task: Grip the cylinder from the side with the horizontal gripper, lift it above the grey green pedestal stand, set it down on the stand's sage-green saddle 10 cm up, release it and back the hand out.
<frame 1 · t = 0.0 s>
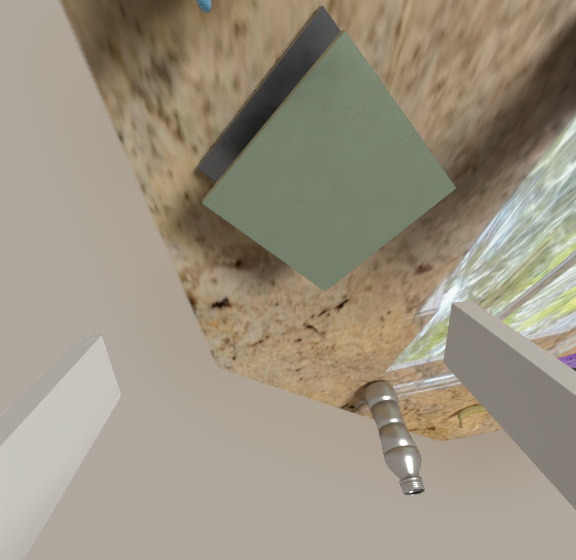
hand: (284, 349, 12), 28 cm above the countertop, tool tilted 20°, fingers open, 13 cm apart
sponges: (546, 365, 71), on the countertop
banana: (467, 406, 79), on the countertop
grey green pedestal stand: (314, 157, 35), on the countertop
plastic bottle: (376, 384, 68), on the countertop
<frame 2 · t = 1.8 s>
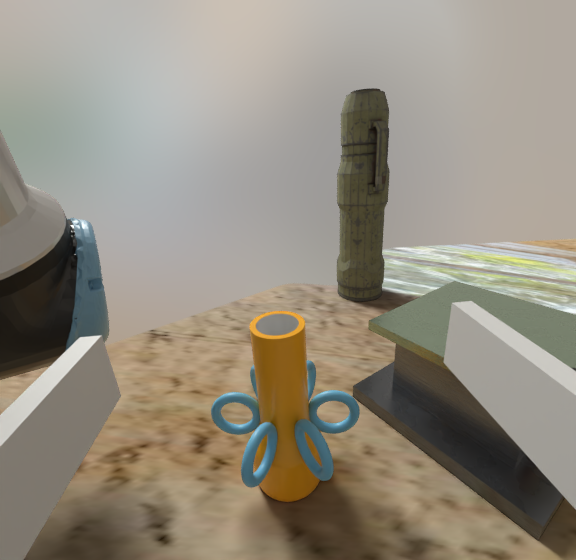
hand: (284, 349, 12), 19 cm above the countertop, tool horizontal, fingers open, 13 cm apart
grey green pedestal stand: (473, 406, 34), on the countertop
cylinder: (289, 471, 28), on the countertop
thermos: (359, 292, 63), on the countertop
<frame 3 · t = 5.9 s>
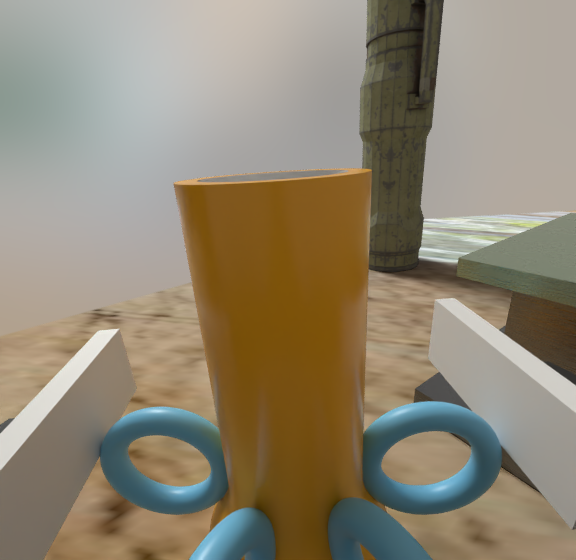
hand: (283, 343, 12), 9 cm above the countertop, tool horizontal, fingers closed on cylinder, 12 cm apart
thermos: (386, 262, 47), on the countertop
when the fingers open (20 cm above the countertop, at t = 11.6 s): cylinder drops 1 cm, resting on grey green pedestal stand.
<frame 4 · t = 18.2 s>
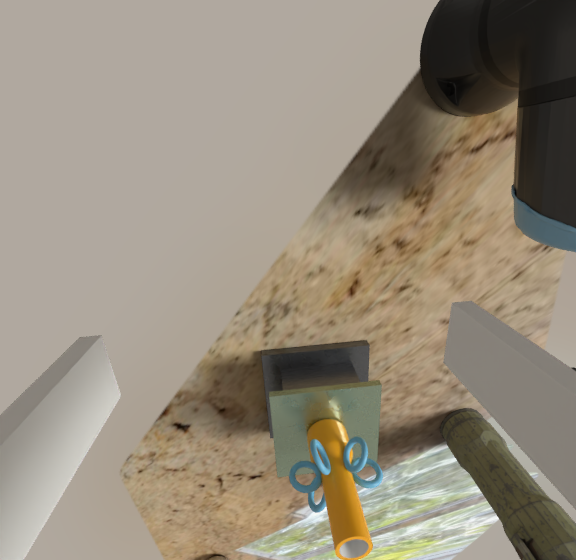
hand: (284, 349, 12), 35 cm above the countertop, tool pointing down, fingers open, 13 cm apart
grey green pedestal stand: (316, 388, 56), on the countertop
plastic bottle: (218, 559, 72), on the countertop
cylinder: (325, 432, 47), point 10 cm above the countertop, touching grey green pedestal stand
thermos: (461, 424, 63), on the countertop
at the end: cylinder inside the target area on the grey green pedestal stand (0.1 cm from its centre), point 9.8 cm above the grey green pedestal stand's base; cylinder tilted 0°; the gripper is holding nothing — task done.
